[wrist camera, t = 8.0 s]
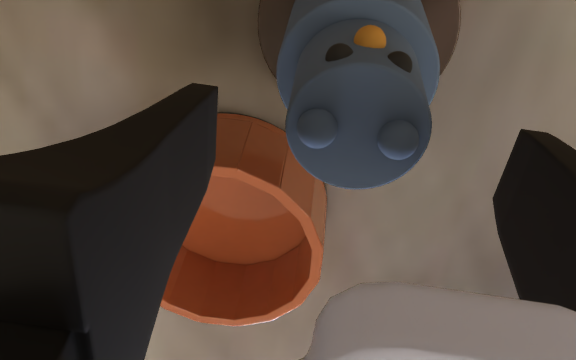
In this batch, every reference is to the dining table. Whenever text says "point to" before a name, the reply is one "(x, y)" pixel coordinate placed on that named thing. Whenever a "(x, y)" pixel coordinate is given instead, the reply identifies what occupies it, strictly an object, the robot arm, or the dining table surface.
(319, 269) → the orange bowl
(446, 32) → the coaster
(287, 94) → the owl
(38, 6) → the dining table surface
